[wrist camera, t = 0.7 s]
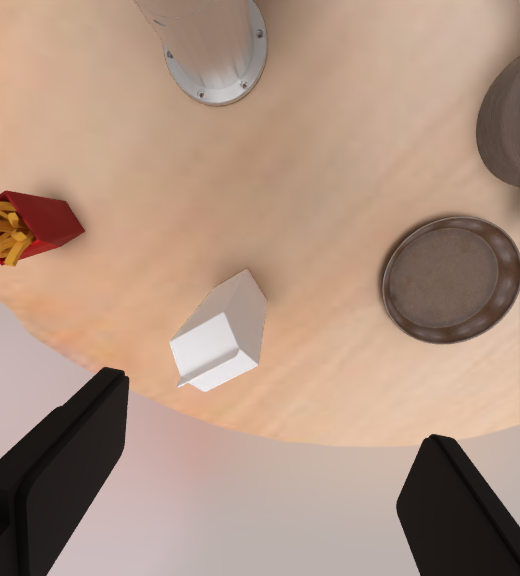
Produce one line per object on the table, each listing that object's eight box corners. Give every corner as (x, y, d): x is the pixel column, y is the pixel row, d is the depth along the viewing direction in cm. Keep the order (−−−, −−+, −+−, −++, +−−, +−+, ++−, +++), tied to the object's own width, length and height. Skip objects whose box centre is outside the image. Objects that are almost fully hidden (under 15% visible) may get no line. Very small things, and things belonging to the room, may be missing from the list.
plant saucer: (363, 326, 45) (369, 334, 42) (394, 207, 40) (402, 207, 37) (481, 344, 45) (495, 353, 42) (525, 225, 40) (545, 227, 37)
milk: (267, 301, 45) (258, 387, 24) (234, 319, 46) (196, 417, 25) (246, 267, 44) (217, 325, 23) (212, 287, 45) (153, 360, 24)
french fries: (66, 191, 43) (-44, 184, 28) (100, 242, 44) (12, 260, 30) (21, 221, 44) (-105, 228, 30) (55, 269, 46) (-48, 298, 31)
